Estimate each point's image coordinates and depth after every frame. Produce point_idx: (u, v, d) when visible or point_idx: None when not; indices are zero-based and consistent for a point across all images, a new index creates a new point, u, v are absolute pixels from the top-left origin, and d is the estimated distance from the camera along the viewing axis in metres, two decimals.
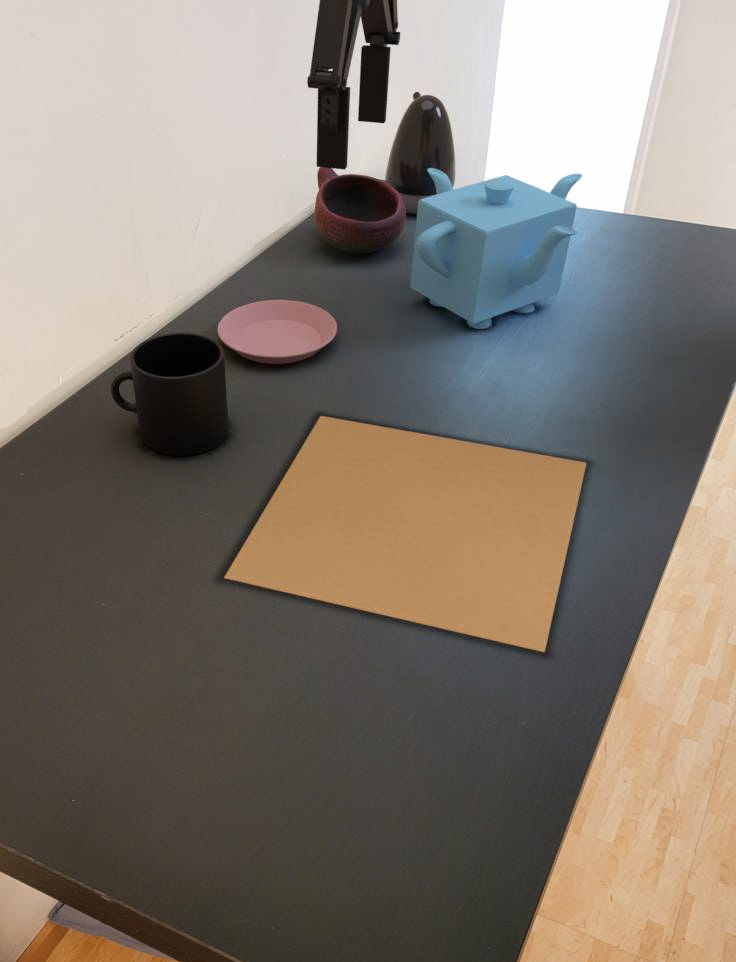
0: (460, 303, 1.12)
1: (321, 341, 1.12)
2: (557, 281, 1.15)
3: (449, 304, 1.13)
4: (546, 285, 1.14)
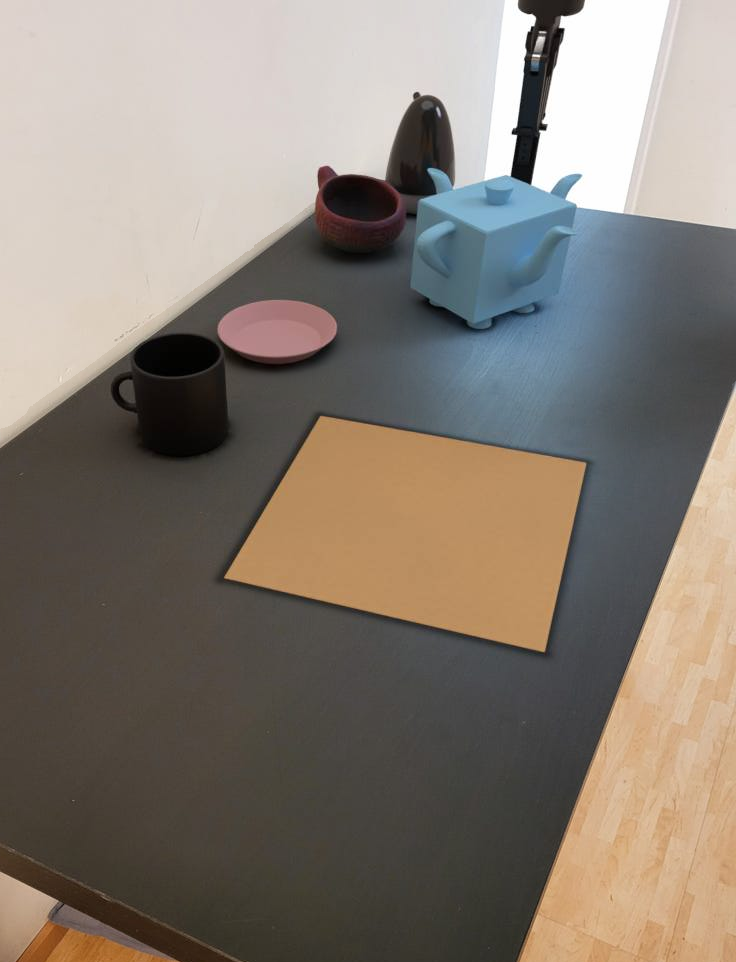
0: (460, 303, 1.12)
1: (321, 341, 1.12)
2: (557, 281, 1.15)
3: (449, 304, 1.13)
4: (546, 285, 1.14)
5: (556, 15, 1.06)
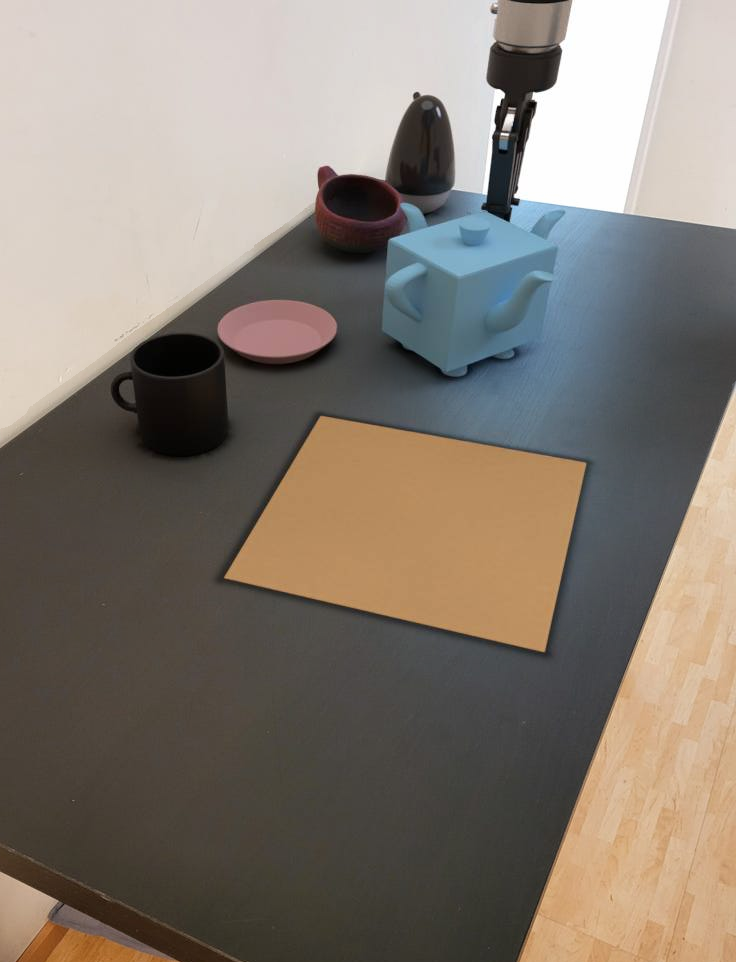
0: (432, 350, 1.04)
1: (321, 341, 1.12)
2: (538, 325, 1.07)
3: (421, 350, 1.06)
4: (526, 330, 1.06)
5: (526, 92, 0.99)
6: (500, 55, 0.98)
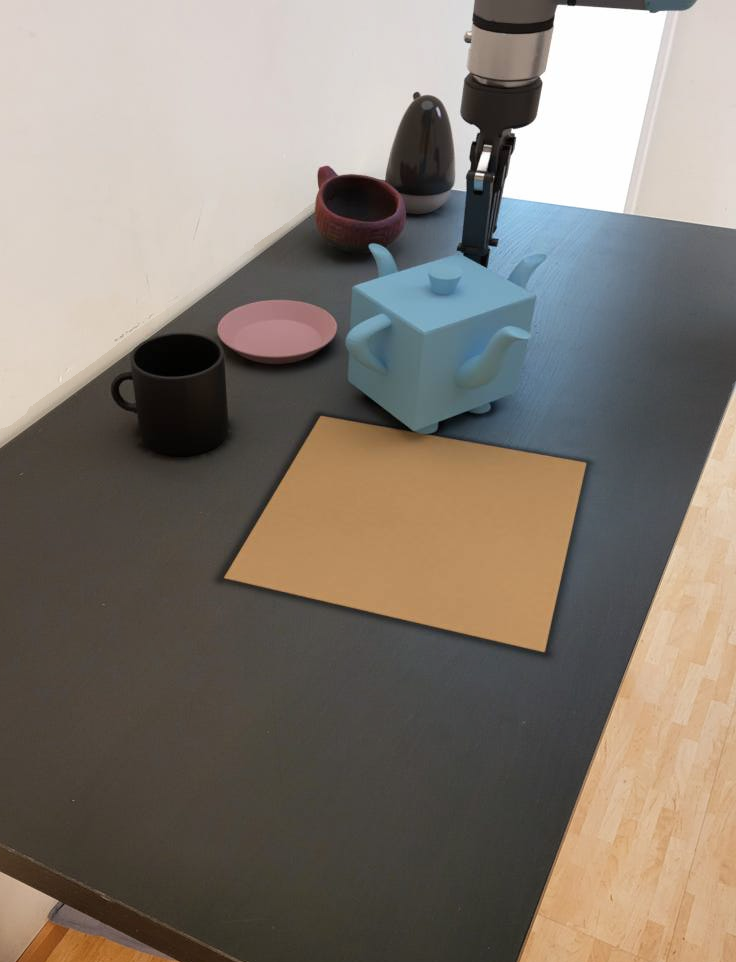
0: (399, 406, 0.96)
1: (321, 341, 1.12)
2: (516, 379, 0.99)
3: (388, 405, 0.98)
4: (503, 384, 0.98)
5: (503, 128, 0.91)
6: (474, 88, 0.90)
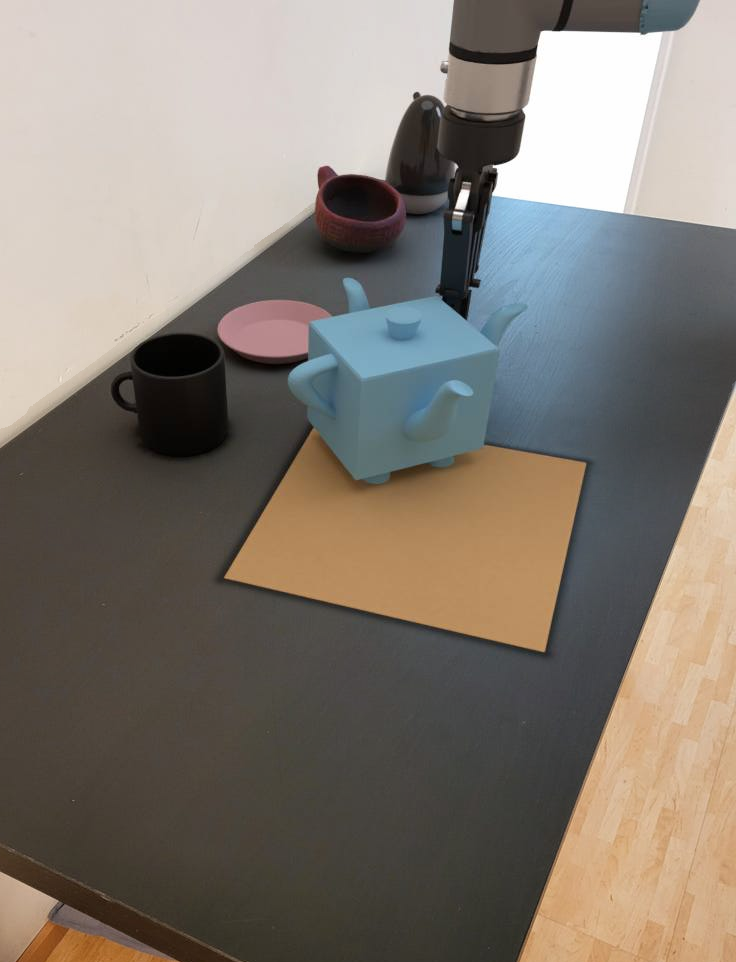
0: (345, 453, 0.90)
1: None
2: (479, 435, 0.91)
3: (336, 450, 0.92)
4: (463, 440, 0.91)
5: (483, 165, 0.84)
6: (452, 121, 0.83)
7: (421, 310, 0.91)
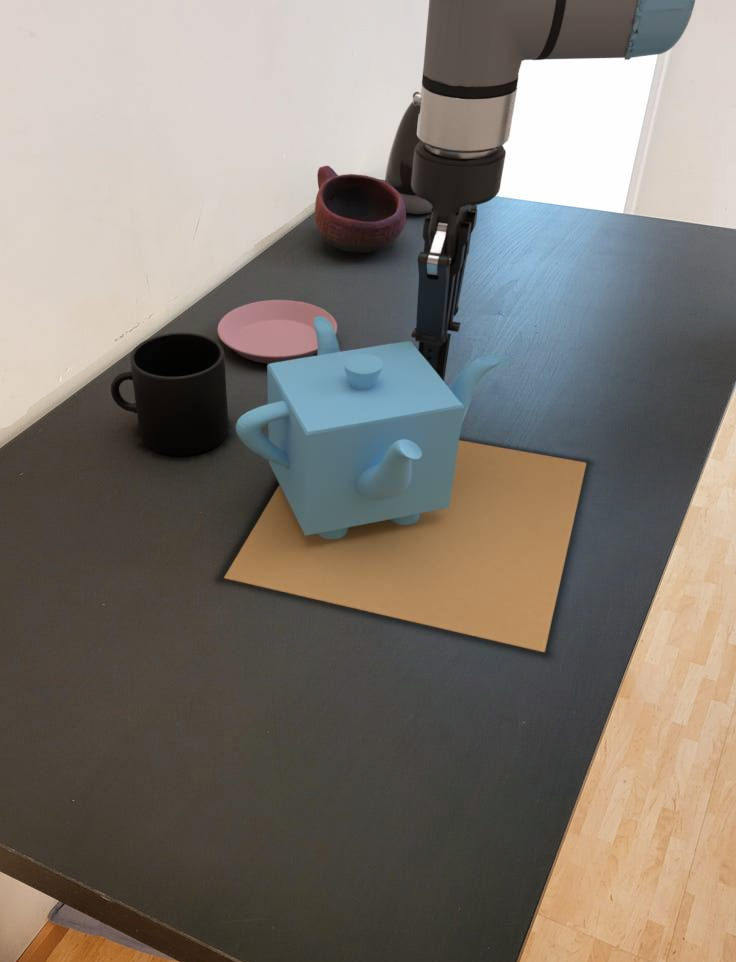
0: (296, 505, 0.85)
1: None
2: (444, 494, 0.85)
3: (290, 501, 0.86)
4: (426, 498, 0.85)
5: (460, 205, 0.77)
6: (426, 159, 0.77)
7: (389, 357, 0.85)
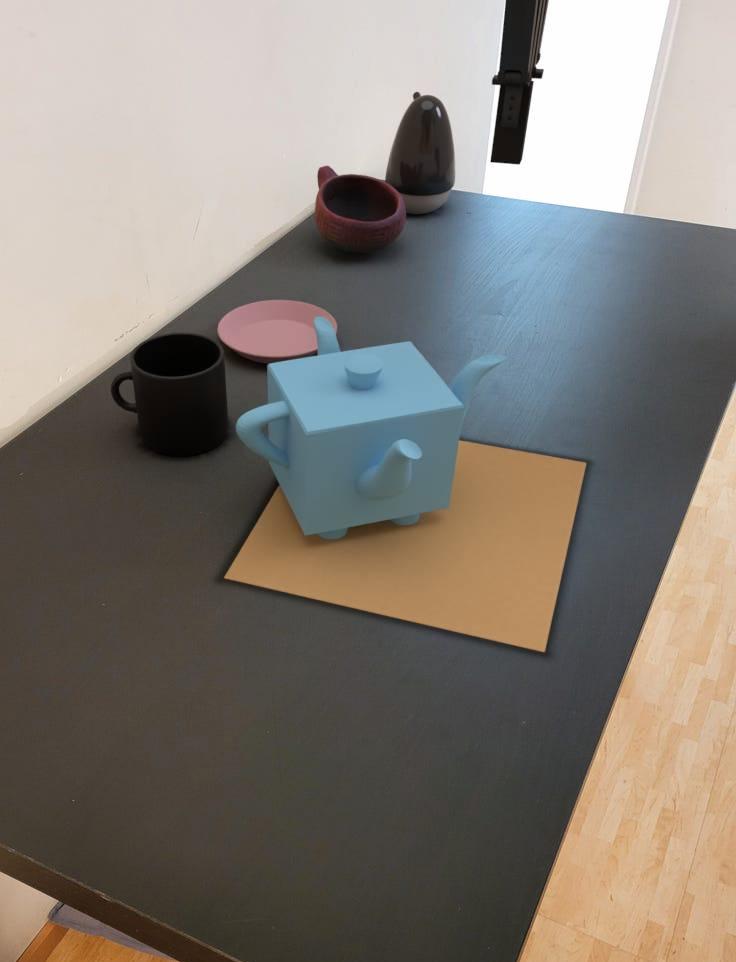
0: (296, 505, 0.85)
1: None
2: (444, 494, 0.85)
3: (290, 501, 0.86)
4: (426, 498, 0.85)
5: None
6: None
7: (390, 357, 0.85)
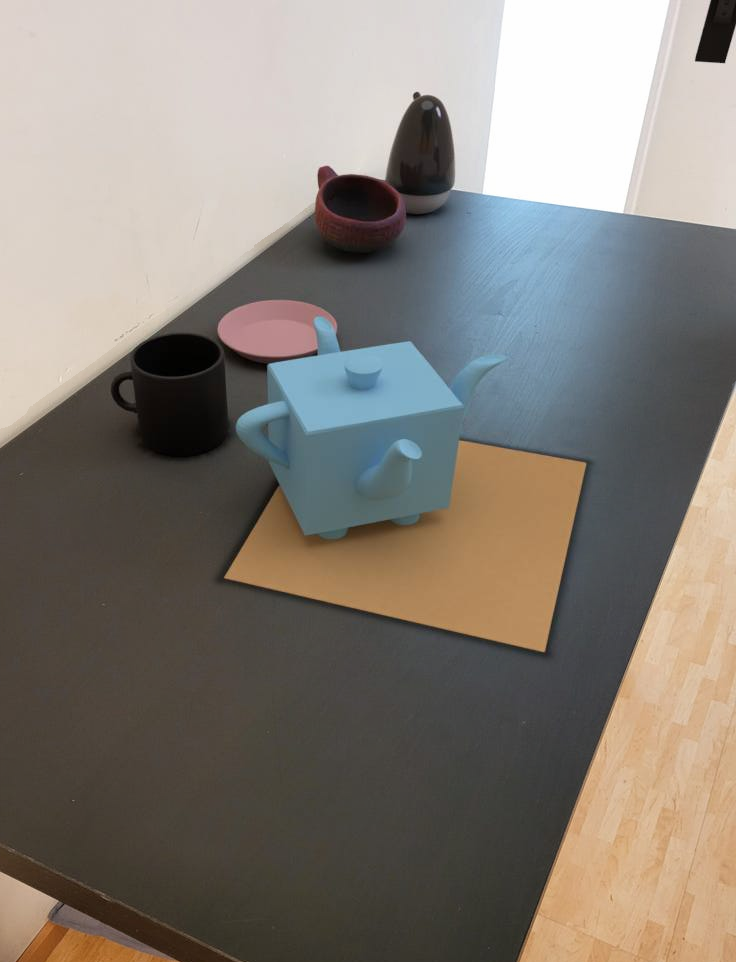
0: (296, 505, 0.85)
1: None
2: (444, 494, 0.85)
3: (290, 501, 0.86)
4: (426, 498, 0.85)
5: None
6: None
7: (390, 357, 0.85)
